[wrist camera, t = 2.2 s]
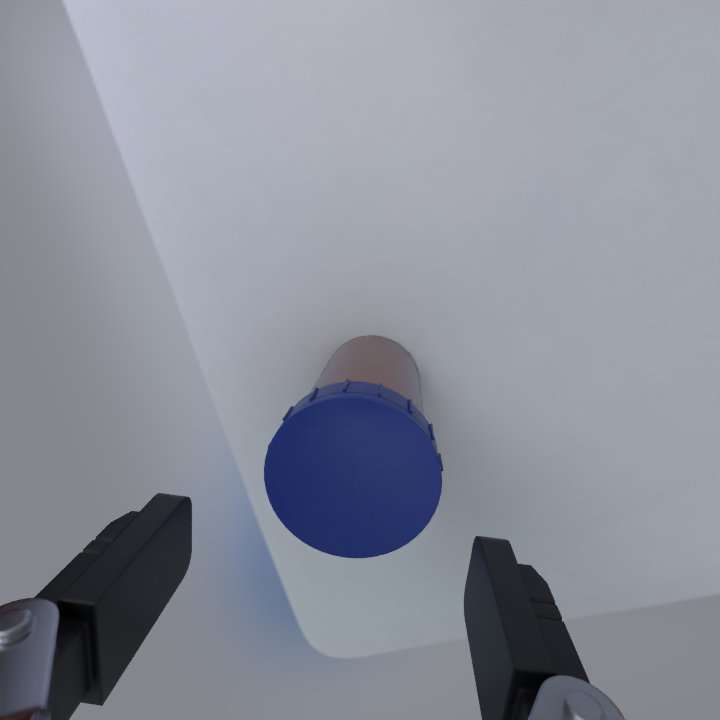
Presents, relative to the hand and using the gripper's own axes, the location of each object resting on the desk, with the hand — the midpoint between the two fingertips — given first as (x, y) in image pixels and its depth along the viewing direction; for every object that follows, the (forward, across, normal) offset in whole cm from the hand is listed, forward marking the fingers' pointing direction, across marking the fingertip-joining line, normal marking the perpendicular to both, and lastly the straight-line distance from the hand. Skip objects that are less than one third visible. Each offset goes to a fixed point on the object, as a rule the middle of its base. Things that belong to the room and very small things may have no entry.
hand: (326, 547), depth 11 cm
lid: (+4, 0, 0) cm, 4 cm away
